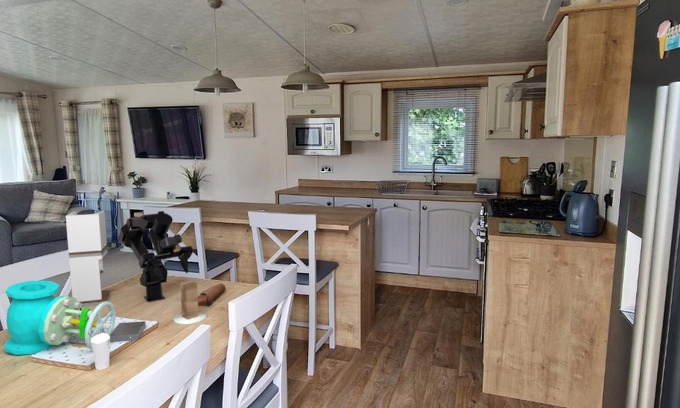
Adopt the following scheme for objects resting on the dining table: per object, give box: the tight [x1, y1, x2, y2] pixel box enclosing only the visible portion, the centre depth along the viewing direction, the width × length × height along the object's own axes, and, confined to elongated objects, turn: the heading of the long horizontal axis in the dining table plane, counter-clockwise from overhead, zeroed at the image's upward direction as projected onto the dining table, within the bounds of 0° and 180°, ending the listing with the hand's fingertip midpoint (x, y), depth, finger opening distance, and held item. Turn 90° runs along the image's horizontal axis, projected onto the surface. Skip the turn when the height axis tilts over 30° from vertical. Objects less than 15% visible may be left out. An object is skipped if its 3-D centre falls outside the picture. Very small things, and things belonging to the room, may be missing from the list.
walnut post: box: [180, 280, 199, 320], centre depth 144 cm, size 4×4×12 cm
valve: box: [3, 279, 117, 356], centre depth 123 cm, size 14×18×30 cm
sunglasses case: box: [198, 283, 226, 307], centre depth 165 cm, size 18×7×7 cm
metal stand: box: [109, 320, 147, 343], centre depth 132 cm, size 10×8×2 cm
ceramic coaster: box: [173, 310, 208, 326], centre depth 145 cm, size 11×11×1 cm
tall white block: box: [65, 210, 112, 308], centre depth 160 cm, size 11×11×35 cm
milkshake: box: [88, 332, 111, 371], centre depth 111 cm, size 4×5×10 cm
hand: (175, 275), depth 150 cm, fingers open, 9 cm apart
